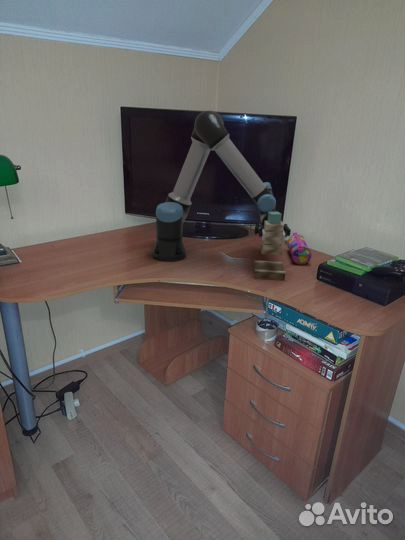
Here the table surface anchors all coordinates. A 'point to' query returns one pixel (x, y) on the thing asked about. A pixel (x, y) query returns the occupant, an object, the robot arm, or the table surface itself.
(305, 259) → the pencil case
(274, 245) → the wooden block tower
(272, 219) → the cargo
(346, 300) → the table surface
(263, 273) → the dock
